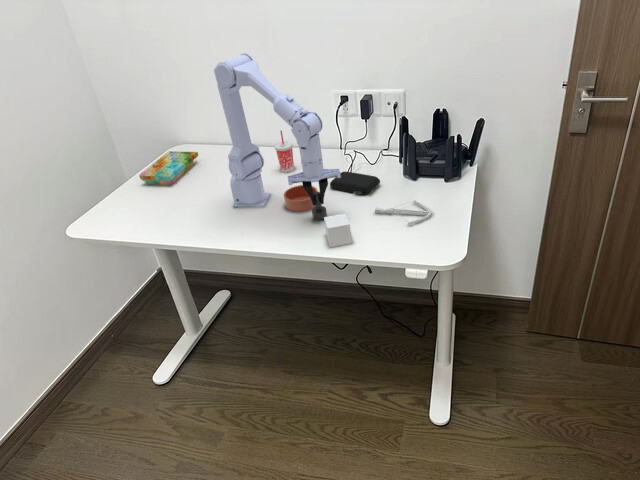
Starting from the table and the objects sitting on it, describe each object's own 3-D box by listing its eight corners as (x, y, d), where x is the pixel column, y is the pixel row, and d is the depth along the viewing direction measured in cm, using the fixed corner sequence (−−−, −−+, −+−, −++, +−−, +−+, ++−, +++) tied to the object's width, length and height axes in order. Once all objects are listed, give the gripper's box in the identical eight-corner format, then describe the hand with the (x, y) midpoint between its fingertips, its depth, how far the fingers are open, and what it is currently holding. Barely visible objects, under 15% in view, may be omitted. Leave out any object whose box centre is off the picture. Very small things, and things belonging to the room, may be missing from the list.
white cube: (326, 236, 150) (323, 217, 146) (347, 232, 151) (345, 213, 147) (330, 247, 145) (327, 228, 142) (351, 243, 146) (349, 224, 142)
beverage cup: (286, 164, 190) (280, 126, 182) (300, 167, 187) (293, 128, 179) (275, 171, 187) (267, 132, 178) (288, 174, 183) (281, 135, 175)
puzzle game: (138, 173, 183) (168, 148, 198) (142, 185, 186) (171, 160, 201) (169, 174, 180) (196, 149, 196) (172, 187, 183) (200, 161, 198)
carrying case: (326, 191, 171) (367, 199, 165) (324, 183, 169) (366, 190, 163) (342, 177, 179) (382, 184, 172) (341, 168, 177) (382, 175, 170)
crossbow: (432, 206, 160) (433, 200, 159) (428, 229, 150) (428, 222, 149) (379, 201, 163) (379, 195, 161) (371, 223, 153) (371, 217, 151)
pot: (282, 213, 162) (280, 201, 160) (289, 196, 170) (287, 185, 168) (316, 212, 161) (314, 200, 158) (321, 196, 169) (320, 184, 167)
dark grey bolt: (311, 219, 155) (308, 196, 151) (313, 212, 159) (310, 189, 154) (325, 219, 155) (322, 196, 151) (328, 212, 158) (325, 189, 154)
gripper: (285, 168, 143) (293, 213, 151) (339, 161, 144) (344, 205, 152) (284, 158, 148) (292, 201, 156) (336, 150, 149) (341, 194, 157)
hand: (317, 203), depth 154 cm, fingers closed on dark grey bolt, 2 cm apart
